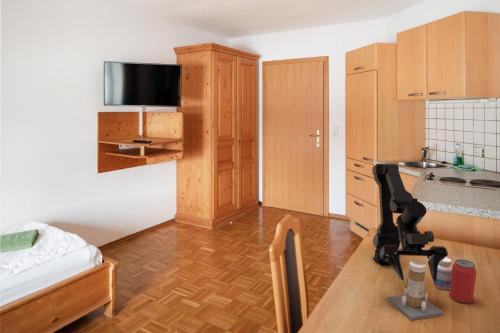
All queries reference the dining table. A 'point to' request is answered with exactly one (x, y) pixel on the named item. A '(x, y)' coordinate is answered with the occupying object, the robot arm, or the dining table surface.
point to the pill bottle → (443, 274)
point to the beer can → (462, 281)
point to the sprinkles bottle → (416, 283)
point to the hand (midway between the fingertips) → (418, 280)
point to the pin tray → (415, 312)
